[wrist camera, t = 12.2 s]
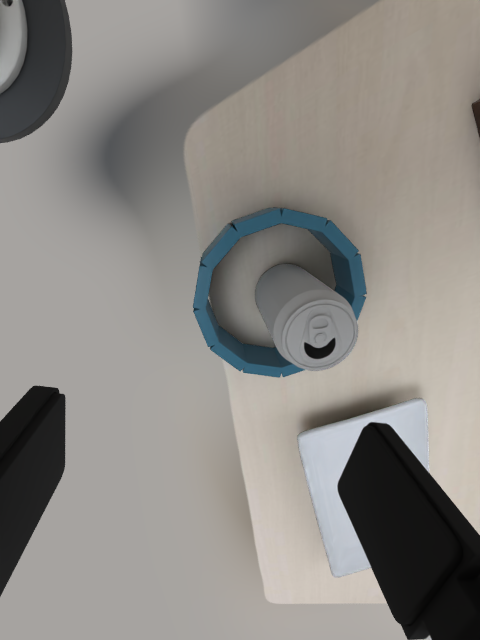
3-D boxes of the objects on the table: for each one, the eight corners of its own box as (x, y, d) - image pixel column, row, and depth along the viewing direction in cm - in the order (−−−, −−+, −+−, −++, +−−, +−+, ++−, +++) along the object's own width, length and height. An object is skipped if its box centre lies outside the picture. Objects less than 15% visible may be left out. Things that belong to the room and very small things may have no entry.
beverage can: (257, 322, 33) (280, 382, 22) (250, 266, 31) (273, 302, 20) (312, 313, 34) (362, 369, 22) (310, 257, 31) (365, 288, 20)
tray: (412, 382, 39) (430, 398, 35) (420, 529, 51) (434, 552, 47) (287, 418, 39) (294, 437, 36) (325, 556, 51) (333, 580, 48)
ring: (162, 269, 30) (154, 279, 26) (302, 171, 28) (318, 166, 24) (248, 380, 36) (253, 404, 32) (370, 307, 34) (392, 321, 30)
